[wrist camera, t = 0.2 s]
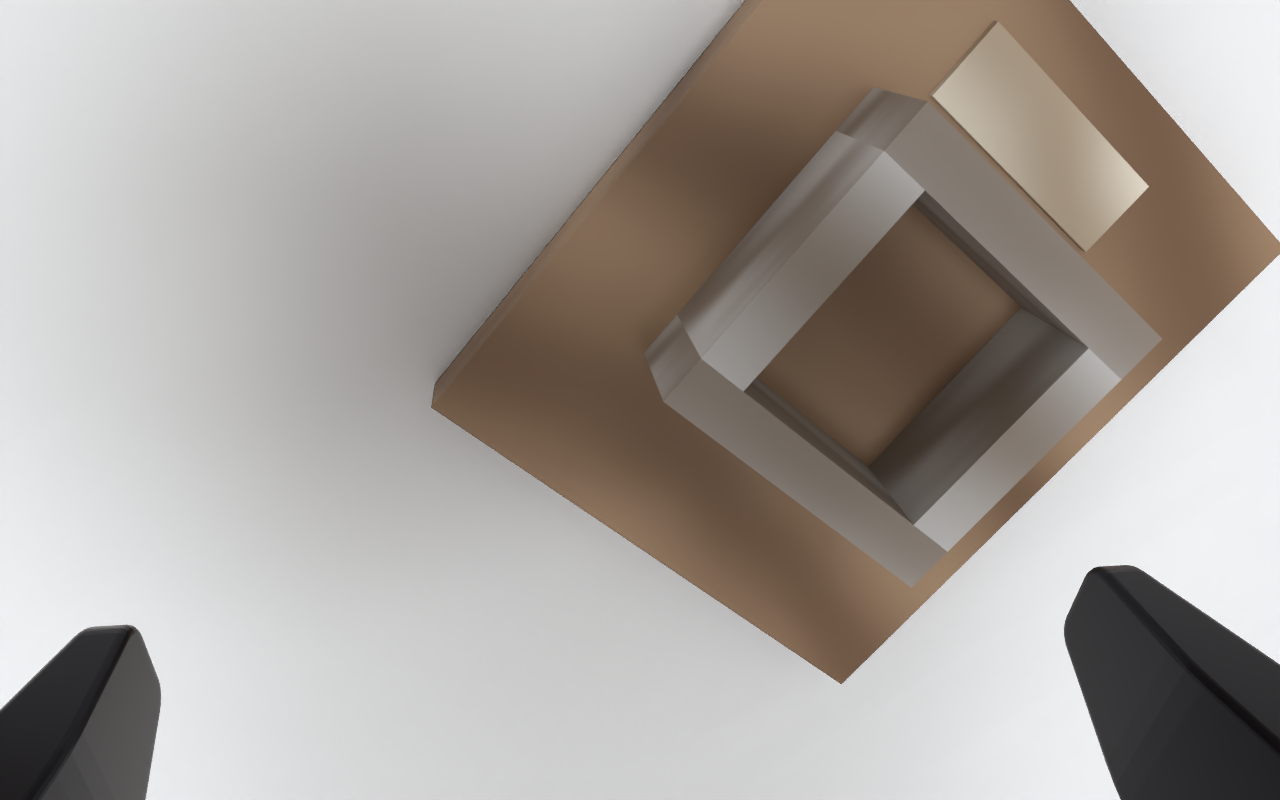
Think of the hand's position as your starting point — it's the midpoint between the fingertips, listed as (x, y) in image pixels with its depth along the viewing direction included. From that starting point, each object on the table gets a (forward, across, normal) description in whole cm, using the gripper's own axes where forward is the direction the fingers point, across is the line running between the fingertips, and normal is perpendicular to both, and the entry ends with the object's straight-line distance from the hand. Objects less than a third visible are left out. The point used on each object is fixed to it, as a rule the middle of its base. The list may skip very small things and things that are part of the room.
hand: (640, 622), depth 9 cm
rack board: (+14, -8, +6) cm, 17 cm away
